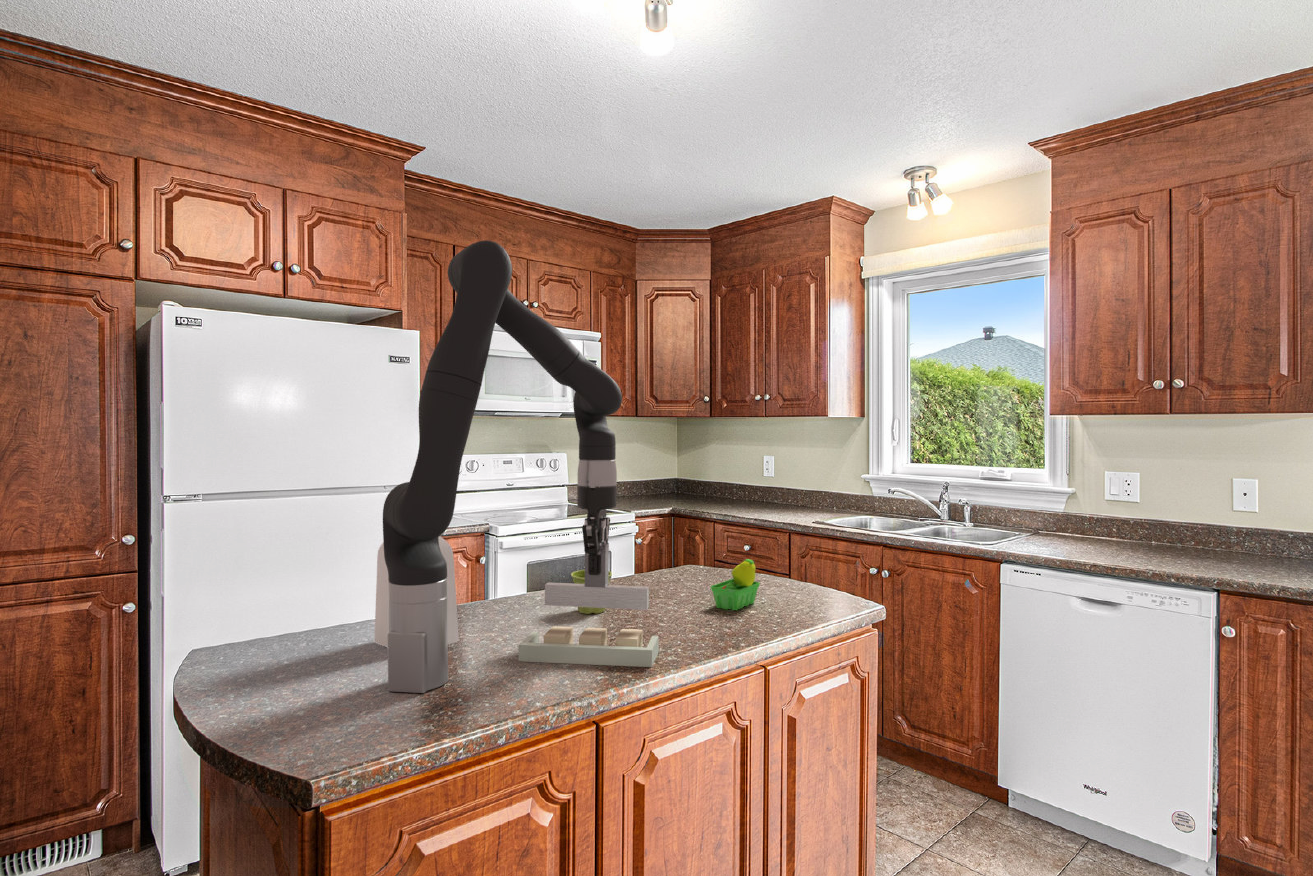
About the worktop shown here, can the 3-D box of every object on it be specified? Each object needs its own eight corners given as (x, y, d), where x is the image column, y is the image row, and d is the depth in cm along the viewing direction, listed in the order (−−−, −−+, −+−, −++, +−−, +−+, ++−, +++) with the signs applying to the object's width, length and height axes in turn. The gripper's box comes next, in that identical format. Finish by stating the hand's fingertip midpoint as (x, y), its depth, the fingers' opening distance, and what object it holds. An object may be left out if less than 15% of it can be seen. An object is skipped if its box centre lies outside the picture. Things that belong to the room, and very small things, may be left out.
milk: (459, 641, 141) (457, 510, 140) (404, 655, 132) (402, 516, 132) (427, 630, 149) (426, 505, 148) (374, 642, 140) (372, 510, 140)
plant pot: (620, 609, 165) (620, 572, 164) (595, 619, 157) (595, 579, 156) (588, 604, 170) (588, 567, 169) (562, 613, 162) (562, 575, 161)
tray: (652, 667, 125) (652, 650, 125) (518, 661, 129) (518, 644, 129) (658, 651, 134) (658, 636, 134) (533, 646, 137) (533, 631, 137)
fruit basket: (733, 598, 175) (733, 552, 174) (765, 603, 169) (765, 556, 169) (708, 608, 165) (708, 559, 165) (742, 614, 160) (742, 564, 160)
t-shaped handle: (646, 610, 134) (647, 547, 134) (543, 605, 137) (544, 543, 137) (649, 606, 137) (649, 544, 137) (548, 602, 140) (548, 541, 140)
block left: (564, 658, 131) (564, 636, 131) (543, 657, 132) (543, 635, 131) (573, 647, 137) (572, 627, 137) (552, 647, 137) (552, 626, 137)
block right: (637, 661, 129) (637, 639, 129) (615, 660, 130) (615, 638, 130) (642, 650, 135) (642, 629, 135) (622, 649, 136) (621, 629, 136)
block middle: (600, 659, 130) (600, 637, 130) (578, 658, 131) (578, 636, 131) (607, 649, 136) (607, 628, 136) (586, 648, 137) (586, 627, 136)
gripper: (586, 480, 144) (586, 565, 144) (568, 485, 130) (567, 579, 131) (623, 481, 143) (622, 566, 143) (608, 486, 129) (607, 581, 129)
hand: (596, 572), depth 137 cm, fingers closed on t-shaped handle, 3 cm apart
